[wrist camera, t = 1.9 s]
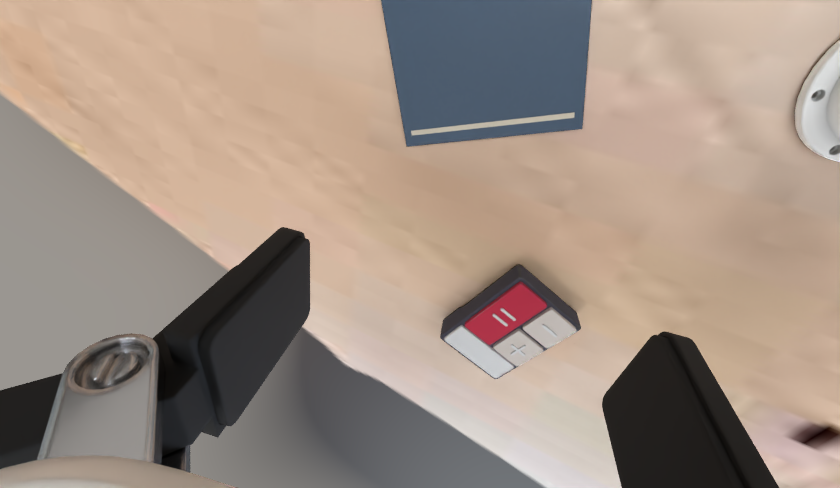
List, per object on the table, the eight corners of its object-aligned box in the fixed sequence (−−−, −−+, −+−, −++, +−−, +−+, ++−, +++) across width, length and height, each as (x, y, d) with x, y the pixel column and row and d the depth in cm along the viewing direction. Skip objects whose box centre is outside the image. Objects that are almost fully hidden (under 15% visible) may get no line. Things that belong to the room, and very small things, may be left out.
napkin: (600, -123, 26) (601, -124, 25) (581, 128, 35) (582, 128, 34) (371, -61, 30) (370, -62, 30) (407, 145, 39) (406, 146, 39)
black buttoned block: (584, 333, 43) (495, 384, 50) (577, 310, 47) (495, 361, 54) (521, 279, 41) (437, 341, 48) (518, 260, 45) (441, 320, 52)
